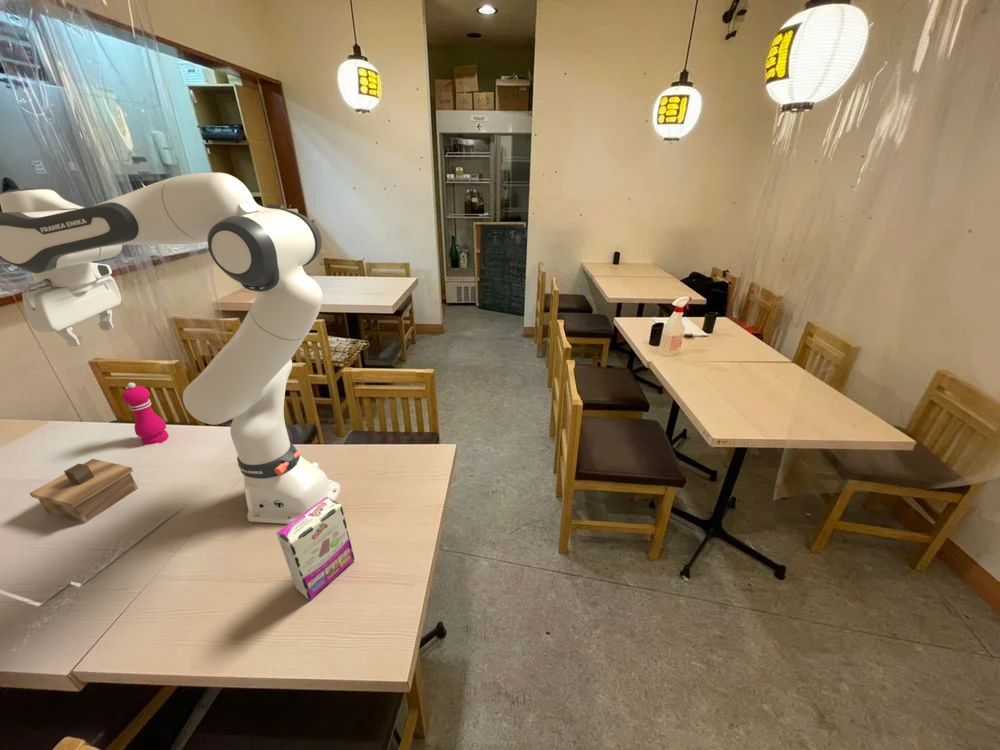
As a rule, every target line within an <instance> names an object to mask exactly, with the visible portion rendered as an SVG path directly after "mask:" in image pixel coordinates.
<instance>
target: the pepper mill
mask: <svg viewBox="0 0 1000 750" xmlns="http://www.w3.org/2000/svg"><path fill="white" fill-rule="evenodd" d="M126 387H127V388H126V389H124V390H123V392H122V393H121V398H122V400H123V402H124V403H126V404H128V405H127V406H128V407H129V410H130V411H132V412H133V413H134V414H133V415H134V418H135V420H134V427H133V428H134V432H135V434H136V436H137V437H139V438H140V440H141V442H142V444H143V445H146V446H147V445H149V446H150V445H156V444H157V443H158V444H161V443H164V442H166V441H167V440H168V439H169V434H168V432H167V430H166V428H167V424H166V422H165V420H164V419H163V418H162V417H160V416H159V415H158V414H157V413H155V411H154V410H153V408H152V406H151V405H152V402H151V399H150V395H151V394H150V392H149V389H147V388H146V387H144V386H141V385H136V383H135V382H128V383H127V385H126Z"/></svg>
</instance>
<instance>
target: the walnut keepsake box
mask: <svg viewBox="0 0 1000 750" xmlns="http://www.w3.org/2000/svg"><path fill="white" fill-rule="evenodd" d="M138 489H139V487H138V485H137V483H136V481H135V480H134V478H133V476H132V474H131V473H129V474H128V475H126V476H125V477H123V478H121V479H120V480H118V481H116V482H115V483H113V484H112V485H110V486H108V487H107V488H105V489H103V490H102V491H100V492H99V493H97V494H95V495H94V496H92V497H90V498H89V499H87V500H86V501H84V502H82V503H81V504H79V505H78V506H76V507H74V508H72V507H68V506H64V505H60V504H56V503H52V502H49V501H45V500H41V499H38V501H39V502H40V504H41V505H42V507H43V508H44V510H45V512H47V514H50V515H54V516H58V517H61V518H64V519H67V520H72V521H75V522H79V523H83V524H86V523H88V522H89V521H91V520H92V519H94V518H96V517H97V516H98V515H100V514H102V513H103V512H104V511H106V510H108V509H109V508H111V507H112V506H114V505H116V504H117V503H118V502H120V501H121V500H123V499H125V498H126V497H128V496H129V495H130V494H132V493H133V492H135V491H136V490H138Z"/></svg>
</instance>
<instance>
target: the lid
mask: <svg viewBox="0 0 1000 750" xmlns="http://www.w3.org/2000/svg"><path fill="white" fill-rule="evenodd" d="M63 472H64V474H63V475H60V476H59V477H56V478H55V479H52V480H51V481H49V482H47V483H45V484H44V485H42V486H40V487H38V488H36V489H34V490H33V491H31V492H29V495H30V497H31V498H33V499H38V500H39V499H41V500H45V501H49V502H52V503H56V504H60V505H64V506H68V507H72V508H74V507H76V506H78V505H79V504H81V503H82V502H84V501H86V500H87V499H89V498H90V497H92V496H94V495H95V494H97V493H99V492H100V491H102V490H103V489H105V488H107V487H108V486H110V485H112V484H113V483H115V482H116V481H118V480H120V479H121V478H123V477H125V476H126V475H128V474H129V473H130V474H131V473H132V472H134V470H133V467H130V466H126V465H124V464H118V463H113V462H109V461H103V460H99V459H95V458H91V459H89V460H88V461H86V462H84V463H77V464H75V465H73V466H71V467H70V468H68V469H65V470H64V471H63Z"/></svg>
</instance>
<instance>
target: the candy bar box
mask: <svg viewBox="0 0 1000 750" xmlns="http://www.w3.org/2000/svg"><path fill="white" fill-rule="evenodd" d="M275 533H276V536H277V538H278V539H277V540H278V542H279V544H280V546H281V550H282V552H283V556H284V559H285V561H286V564H287V566H288V570H289V572H290V576H291V578H292V581H293V583H294V586H295V589H296V590H297V591H298V592H299V593H301V594H302V595H303V596H304V597H305V598H306V599H307V600H308V601H312V600H313V599H314V598H315V597H316V596H317V595H319V594H320V593H321V592H323V590H324V589H326V587H328V585H329V584H331V583H332V582H333V581H334V580H335V579H336V578H338V576H339V575H340V574H341V573H343V572H344V571H345V570H346V569H347V568H349V566H350V565H351V564H353V563H354V562H355V561H356V560H355V556H354V552H353V547H352V543H351V539H350V535H349V530H348V526H347V521H346V518H345V515H344V509H343V506H342V504H341V503H338V502H337V501H336V500H335V501H333V500H331V498H329V497H325V498H324V499H322V500H321V501H320V502H318V503H317V504H315V505H314V506H313V507H311V508H310V509H309V510H307V511H306V512H304V513H303V514H302V515H300V516H299V517H297V518H296V519H295V520H293V521H292V522H290V523H289V524H285V525H284V526H283V527H282V528H280V529H279V530H277V531H276V532H275ZM354 560H355V561H354ZM353 561H354V562H353ZM352 562H353V563H352ZM342 571H343V572H342ZM330 582H331V583H330Z"/></svg>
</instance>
